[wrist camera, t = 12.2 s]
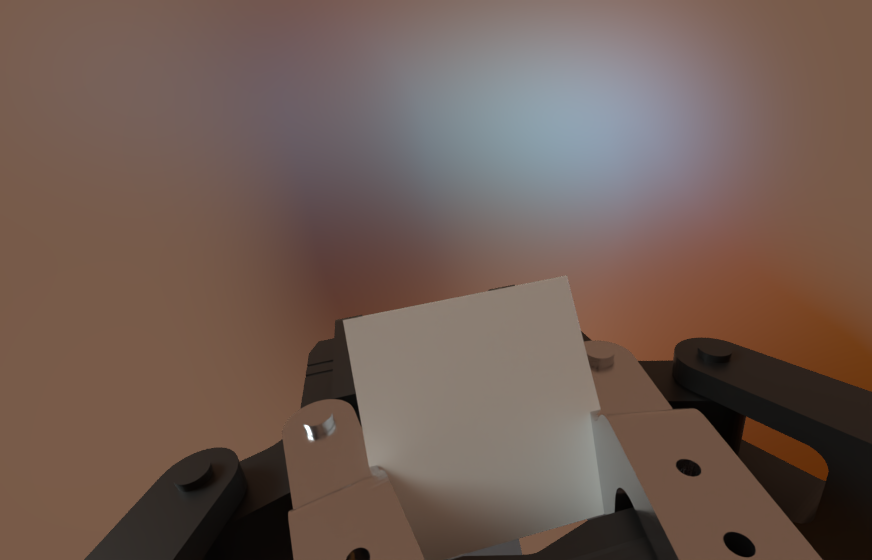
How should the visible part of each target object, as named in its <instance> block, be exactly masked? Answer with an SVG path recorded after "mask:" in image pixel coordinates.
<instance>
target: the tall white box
mask: <svg viewBox="0 0 872 560" xmlns="http://www.w3.org/2000/svg"><path fill="white" fill-rule="evenodd" d="M343 324H344V330H345V335H346V341H347V346H348V352H349V357H350V363H351V369H352V374H353V380H354V385H355V391H356V397H357V402H358V408H359V413H360V419H361V424H362V430H363V436H364V441H365V447H366V452H367V458H368V464H369V467H371V466H375V465H378V467H379V470H380V471H381V470H385V472H386V473H387V475H388V477H389V480H390V482H391V484H392V486H393V489H394V491H395V493H396V495H397V498H398V500H399V502H400V505H401V507H402V509H403V511H404V514H405V516H406V518H407V520H408V523H409V525H410V527H411V529H412V532H413V534H414V536H415V539H416V541H417V543H418V545H419V548H420V550H421V552H422V554H423V557H424V559H425V560H446V559H449V558H453V557H456V556H460V555H463V554H466V553H470V552H473V551H477V550H480V549H484V548H487V547H491V546H494V545H498V544H501V543H505V542H508V541H512V540H515V539H519V538H522V537H525V536H529V535H532V534H536V533H539V532H543V531H547V530H550V529H553V528H557V527H561V526H564V525H568V524H571V523H575V522H578V521H581V520H585V519H589V518H592V517H596V516H599V515H603V514H604V508H603V501H602V494H601V487H600V480H599V472H598V465H597V458H596V451H595V444H594V437H593V430H592V423H591V416H590V412H592V411H596V410H600V409H601V408H600V405H599V401H598V397H597V393H596V389H595V385H594V381H593V377H592V373H591V369H590V365H589V361H588V357H587V353H586V349H585V345H584V341H583V337H582V333H581V330H580V326H579V322H578V318H577V314H576V310H575V306H574V302H573V298H572V294H571V290H570V286H569V282H568V278H567V276H562V277H557V278H552V279H547V280H542V281H537V282H532V283H527V284H522V285H517V286H512V287H507V288H502V289H497V290H492V291H487V292H482V293H477V294H472V295H467V296H462V297H457V298H451V299H447V300H442V301H436V302H431V303H426V304H422V305H417V306H412V307H406V308H401V309H396V310H392V311H386V312H382V313H377V314H372V315H367V316H361V317H356V318H351V319H346V320H343Z"/></svg>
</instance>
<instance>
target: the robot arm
mask: <svg viewBox="0 0 872 560" xmlns="http://www.w3.org/2000/svg"><path fill="white" fill-rule="evenodd" d="M512 286H515V285H510V286H506V287H501V288H496V289H490V290H489V291H492V290H497V289H502V288H507V287H512ZM361 316H362V315H359V316H354V317H349V318H344V319H339V320H336V321H335V338H334V339H329V340H324V341H319V342H318V343H317V344H316V346H315V347H314V348H313V349H312V350H311V352H310V353H309V358H308V364H307V366H308V367H307V371H306V378H305V384H304V390H303V397H302V403H301V409H300V410H298V411H297V412H296V413H294V414H293V415H292V416H291V417H290V418H289V419H288V421H287V422H286V423H285V425H284V428H283V431H282V438H283V439H282V440H281V441H279V442H278V443H276V444H275V445H274V446H272V447H270V448H268V449H266V450H264V451H262V452H260V453H257V454H255V455H253V456H251V457H249V458H247V459H244V460H242V461H240V462H239V460H238V457H237V455H236V454H235V452H233V451H232V450H230V449H227V448H211V449H206V450H202V451H200V452H197V453H194V454H192V455H190V456H188V457H186V458H184V459H182V460H181V461H179V462H178V463H176V464H175V465H173V466H172V467H171V468H170V469H168V470H167V471H166V472H165V473H164V474H163V475H162V476H161V477H160V478H159V479H158V480H157V482H155V483H154V485H153V486H152V487H151V488H150V489H149V490H148V491H147V492H146V493H145V494H144V496H143V497H142V498H141V499H140V500H139V501H138V502H137V503H136V504H135V505H134V506H133V507H132V508H131V509H130V511H129V512H128V513H127V514H126V515H125V516H124V517H123V518H122V519H121V520H120V521H119V523H118V524H117V525H116V526H115V527H114V528H113V529H112V530H111V531H110V532H109V533H108V535H107V536H106V537H105V538H104V539H103V540H102V541H101V542H100V543H99V544H98V545H97V546H96V547H95V549H94V550H93V551H92V552H91V553H90V554H89V555H88V556H87V557H86V558H85V560H425V559H424V557H423V554H422V552H421V550H420V548H419V545H418V543H417V541H416V539H415V536H414V534H413V532H412V529H411V527H410V525H409V523H408V520H407V518H406V516H405V514H404V511H403V509H402V507H401V505H400V502H399V500H398V498H397V495H396V493H395V491H394V489H393V486H392V484H391V482H390V480H389V477H388V475H387V473H386V472H385V470H381V471H380V470H379V467H378V465H375V466H371V467H369V464H368V458H367V452H366V447H365V441H364V436H363V430H362V424H361V419H360V413H359V408H358V402H357V397H356V391H355V385H354V380H353V374H352V369H351V363H350V357H349V352H348V346H347V341H346V335H345V330H344V324H343V320H346V319H351V318H356V317H361ZM581 333H582V337H583V341H584V345H585V349H586V353H587V357H588V361H589V365H590V369H591V373H592V377H593V381H594V385H595V389H596V393H597V397H598V401H599V405H600V408H601V409H600V410H596V411H592V412H590V416H591V423H592V430H593V437H594V444H595V451H596V458H597V465H598V472H599V480H600V487H601V494H602V501H603V508H604V514H603V515H599V516H596V517H592V518H589V519H587V520H588V521H586V522H585V523H583V524H582V525H580V526H579V527H577V528H576V529H574V530H573V531H571V532H569V533H568V534H566V535H565V536H563V537H561V538H560V539H558V540H557V541H555V542H554V543H552V544H550V545H549V546H547V547H546V548H544V549H543V550H541V551H539V552H537V553H534V554H529V555H488V556H461V557H458V558H454V559H451V560H872V392H870V391H867V390H865V389H862V388H859V387H856V386H853V385H850V384H847V383H844V382H841V381H839V380H836V379H833V378H830V377H827V376H825V375H822V374H819V373H816V372H813V371H810V370H807V369H804V368H802V367H799V366H796V365H793V364H790V363H787V362H785V361H782V360H779V359H776V358H773V357H770V356H767V355H764V354H762V353H759V352H756V351H753V350H750V349H747V348H744V347H742V346H739V345H736V344H733V343H730V342H727V341H723V340H719V339H712V338H691V339H687V340H684V341H681V342H680V343H678V344H677V345H676V347H675V351H674V359H673V361H637V360H636V358H635V357H634V356H633V354H632V353H631V352H630V351H628V350H627V349H626V348H624V347H622V346H619V345H617V344H614V343H610V342H605V341H592V340H590V339H589V338H588V337H587V336H586V335H585V334H584V333H583V332H582V331H581ZM746 416H747V417H749V418H751V419H753V420H755V421H757V422H760V423H762V424H764V425H766V426H768V427H770V428H772V429H775V430H777V431H779V432H781V433H783V434H785V435H787V436H790V437H792V438H794V439H796V440H798V441H800V442H802V443H805V444H807V445H809V446H810V447H812V448H813V449H815V450H816V451H817V452H818V453H819V454H820V455H821V456H822V457H823V458H824V460H825V461H826V463H827V466H828V469H829V472H828V476H827V480H826V481H823V480H821V479H819V478H817V477H815V476H812V475H811V474H809V473H807V472H804V471H803V470H800V469H799V468H797V467H795V466H793V465H791V464H789V463H787V462H785V461H783V460H781V459H779V458H777V457H775V456H773V455H771V454H769V453H767V452H765V451H764V450H762V449H760V448H758V447H755V446H754V445H752V444H750V443H748V442H746V441H744V440H742V435H743V429H744V424H745V419H746Z"/></svg>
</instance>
